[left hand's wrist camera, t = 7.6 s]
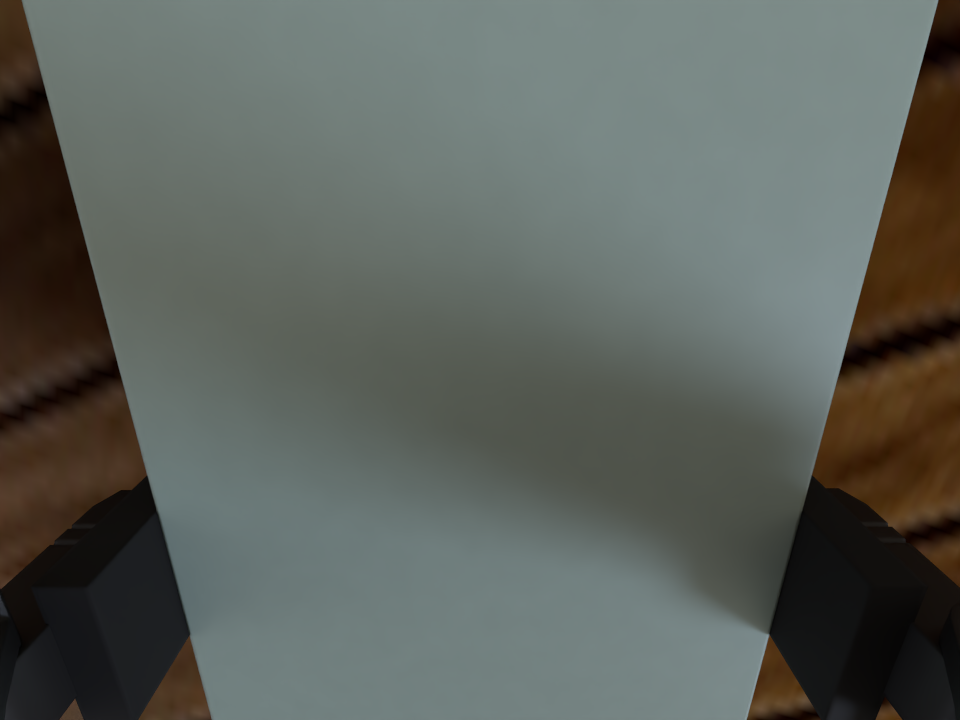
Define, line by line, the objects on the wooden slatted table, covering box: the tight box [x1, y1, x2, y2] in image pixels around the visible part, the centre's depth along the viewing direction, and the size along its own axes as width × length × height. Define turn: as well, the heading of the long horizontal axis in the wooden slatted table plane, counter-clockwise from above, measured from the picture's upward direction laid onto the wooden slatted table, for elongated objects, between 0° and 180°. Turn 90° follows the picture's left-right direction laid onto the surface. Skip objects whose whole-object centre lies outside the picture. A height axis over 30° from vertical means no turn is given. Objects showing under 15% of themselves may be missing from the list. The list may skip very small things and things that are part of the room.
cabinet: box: [22, 0, 938, 720], centre depth 11 cm, size 19×10×10 cm, turn 0°
